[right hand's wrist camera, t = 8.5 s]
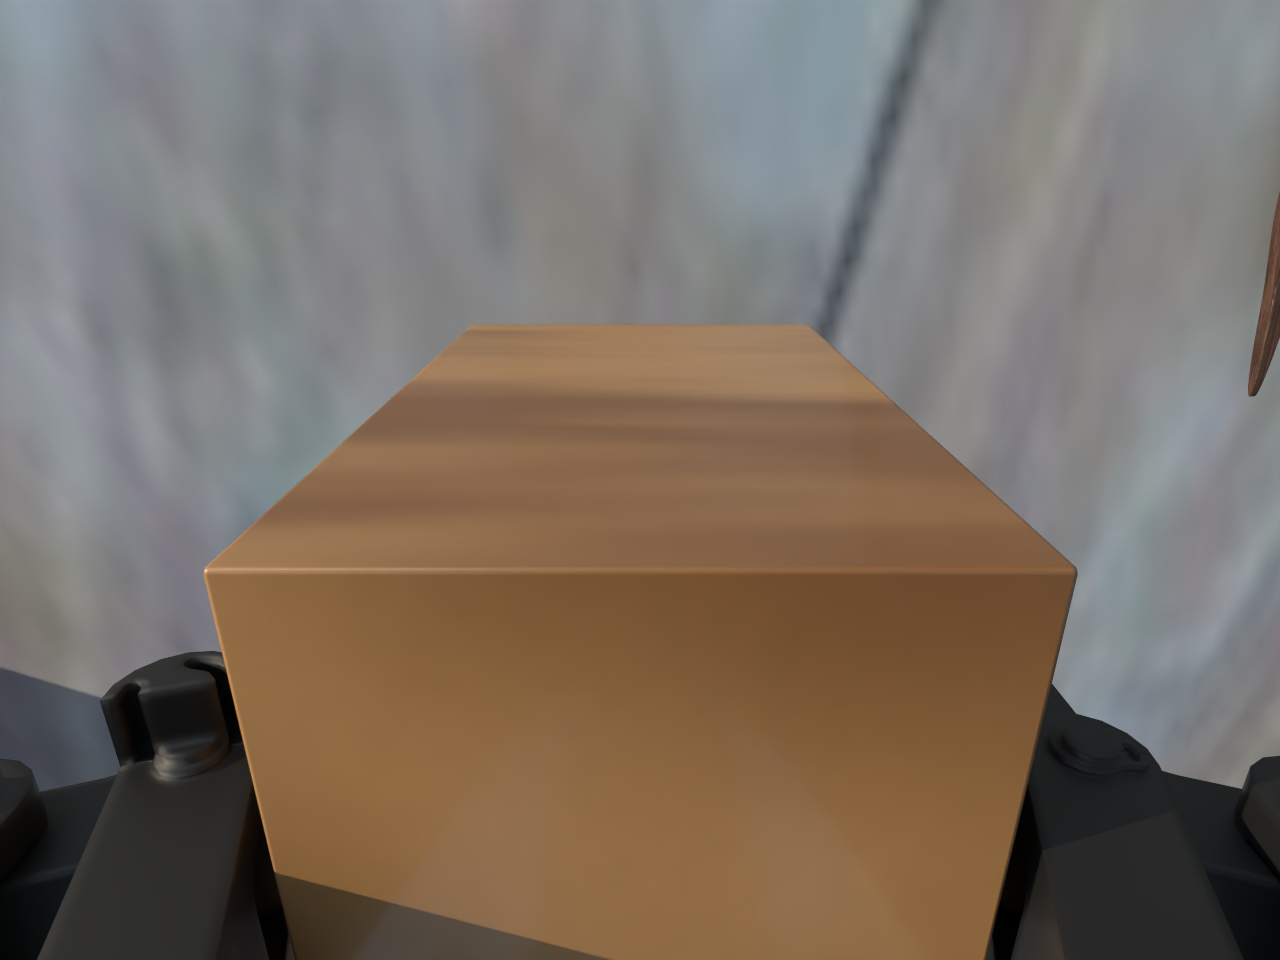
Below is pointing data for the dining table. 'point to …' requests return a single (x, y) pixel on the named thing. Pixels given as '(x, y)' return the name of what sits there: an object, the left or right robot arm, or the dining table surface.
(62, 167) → the dining table surface
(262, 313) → the dining table surface
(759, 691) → the box
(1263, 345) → the fork
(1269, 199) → the dining table surface
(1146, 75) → the dining table surface
